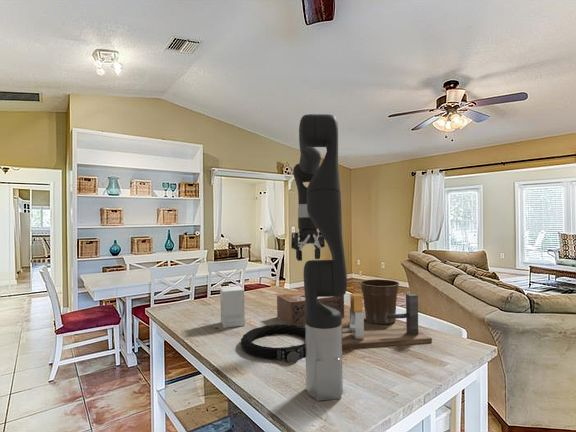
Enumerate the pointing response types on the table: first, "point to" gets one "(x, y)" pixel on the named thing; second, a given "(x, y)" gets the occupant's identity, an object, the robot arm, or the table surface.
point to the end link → (356, 317)
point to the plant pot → (379, 299)
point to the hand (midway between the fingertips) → (308, 259)
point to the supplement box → (232, 306)
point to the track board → (392, 331)
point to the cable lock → (274, 353)
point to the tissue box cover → (303, 307)
